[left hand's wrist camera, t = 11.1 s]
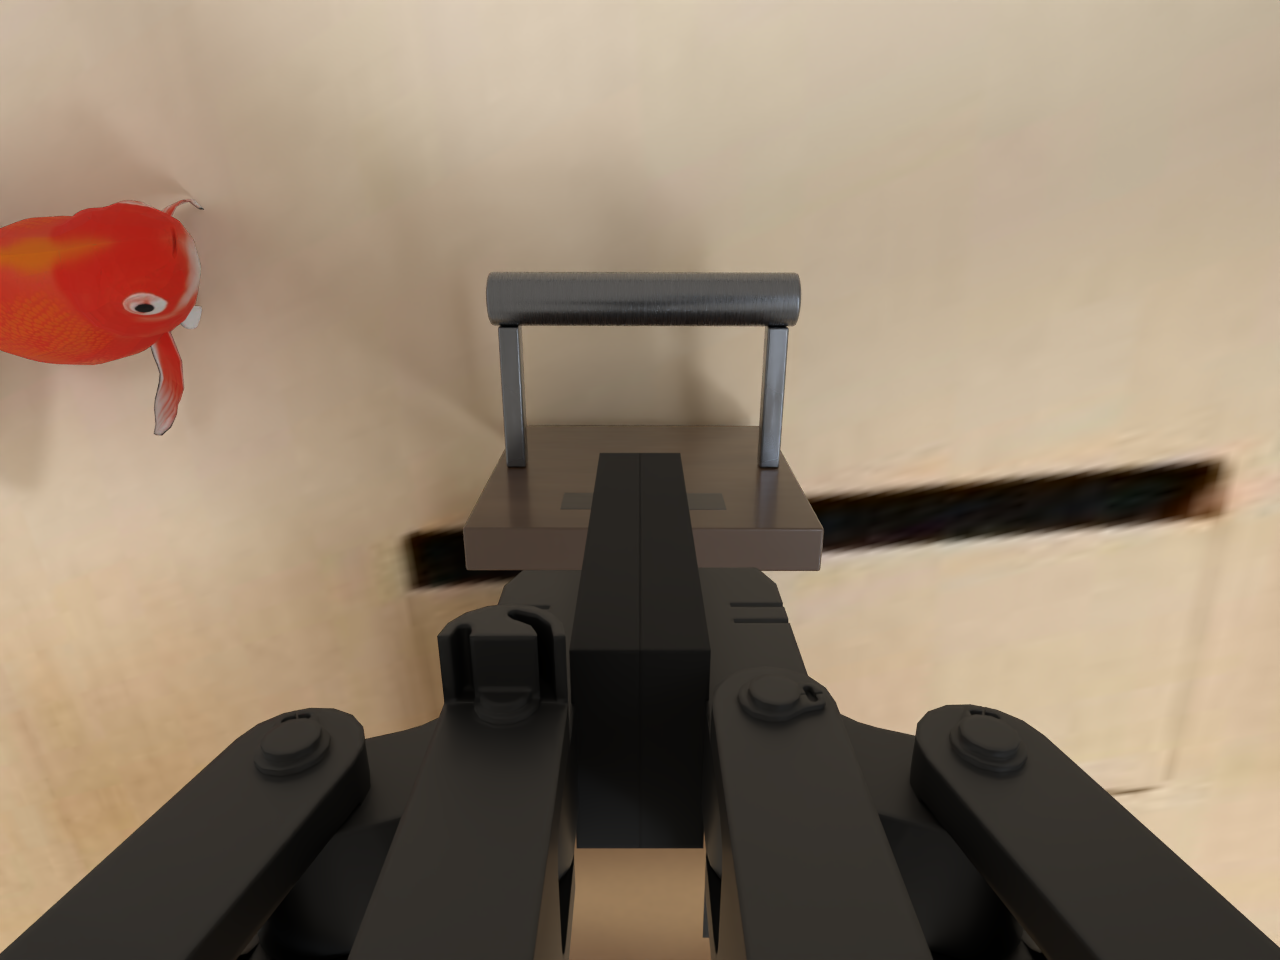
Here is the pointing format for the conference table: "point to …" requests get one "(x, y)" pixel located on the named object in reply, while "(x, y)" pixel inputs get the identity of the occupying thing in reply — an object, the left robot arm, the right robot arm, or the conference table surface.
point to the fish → (101, 290)
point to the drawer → (643, 428)
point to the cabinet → (639, 904)
